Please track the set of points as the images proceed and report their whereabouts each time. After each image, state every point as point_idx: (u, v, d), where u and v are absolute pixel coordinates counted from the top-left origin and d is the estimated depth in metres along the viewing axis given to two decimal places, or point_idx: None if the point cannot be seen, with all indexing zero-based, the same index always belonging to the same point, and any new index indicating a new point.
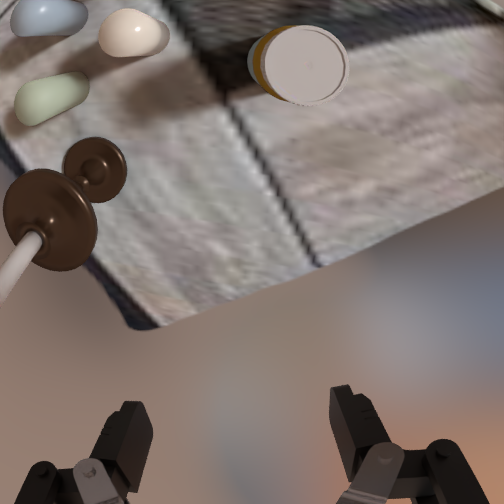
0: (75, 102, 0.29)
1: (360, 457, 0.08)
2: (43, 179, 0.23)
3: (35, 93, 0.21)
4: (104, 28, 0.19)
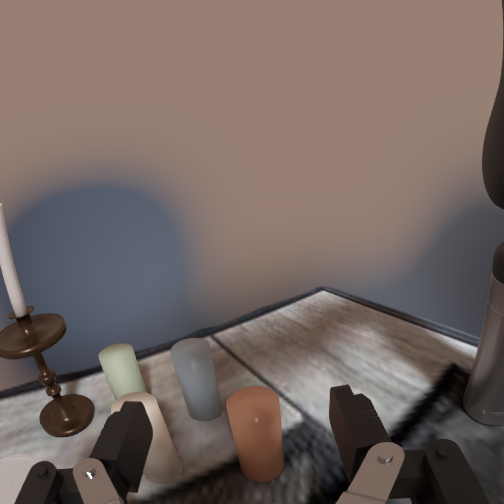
0: None
1: (360, 456, 0.08)
2: (51, 336, 0.30)
3: (120, 355, 0.34)
4: (144, 395, 0.27)
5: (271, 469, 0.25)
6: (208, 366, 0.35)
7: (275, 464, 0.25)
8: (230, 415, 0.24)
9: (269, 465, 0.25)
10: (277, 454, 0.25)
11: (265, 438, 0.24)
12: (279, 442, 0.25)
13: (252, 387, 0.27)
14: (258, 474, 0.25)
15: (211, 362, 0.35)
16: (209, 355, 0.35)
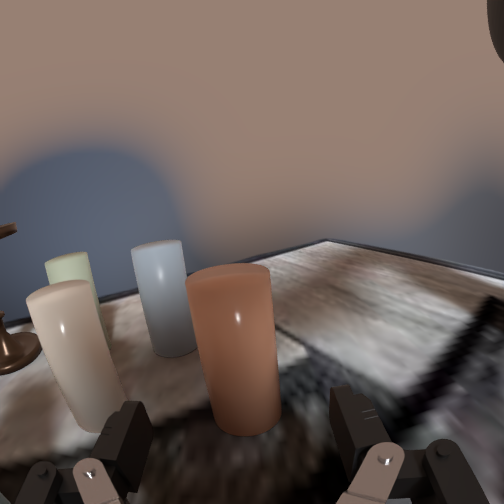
0: None
1: (360, 456, 0.08)
2: None
3: (69, 259, 0.26)
4: (77, 281, 0.19)
5: (260, 411, 0.17)
6: (178, 270, 0.27)
7: (267, 401, 0.17)
8: (189, 291, 0.16)
9: (255, 401, 0.17)
10: (269, 380, 0.17)
11: (248, 338, 0.16)
12: (272, 356, 0.17)
13: (229, 264, 0.19)
14: (239, 419, 0.17)
15: (182, 266, 0.27)
16: (179, 253, 0.27)
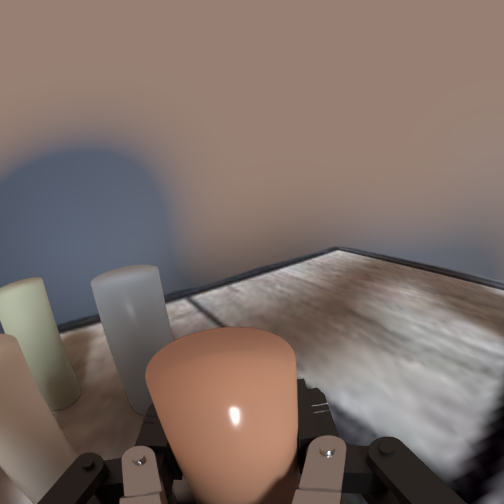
0: None
1: (306, 448, 0.09)
2: None
3: (19, 290, 0.18)
4: (6, 339, 0.11)
5: None
6: (153, 310, 0.19)
7: None
8: (151, 395, 0.08)
9: None
10: (286, 498, 0.09)
11: (257, 469, 0.08)
12: (293, 472, 0.09)
13: (224, 329, 0.11)
14: None
15: (160, 304, 0.19)
16: (154, 287, 0.19)
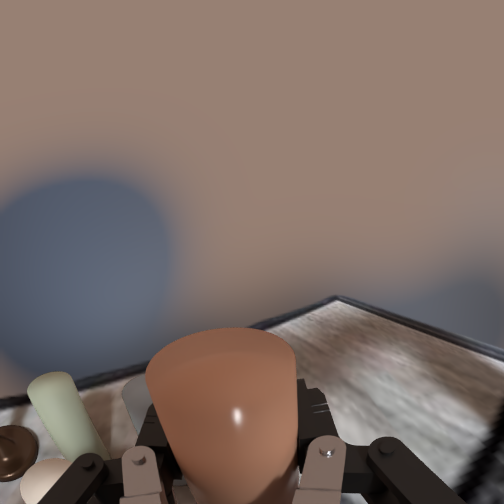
0: (60, 450, 0.21)
1: (306, 448, 0.09)
2: None
3: (53, 391, 0.20)
4: None
5: None
6: None
7: None
8: (151, 396, 0.08)
9: None
10: (287, 499, 0.09)
11: (257, 469, 0.08)
12: (292, 473, 0.09)
13: (223, 330, 0.11)
14: None
15: None
16: None
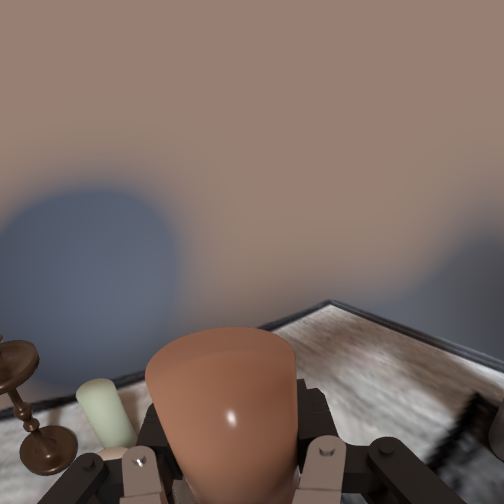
0: (101, 443, 0.28)
1: (306, 448, 0.09)
2: (21, 372, 0.23)
3: (100, 395, 0.27)
4: None
5: None
6: None
7: None
8: (151, 395, 0.08)
9: None
10: (287, 498, 0.09)
11: (257, 468, 0.08)
12: (292, 472, 0.09)
13: (223, 329, 0.11)
14: None
15: None
16: None
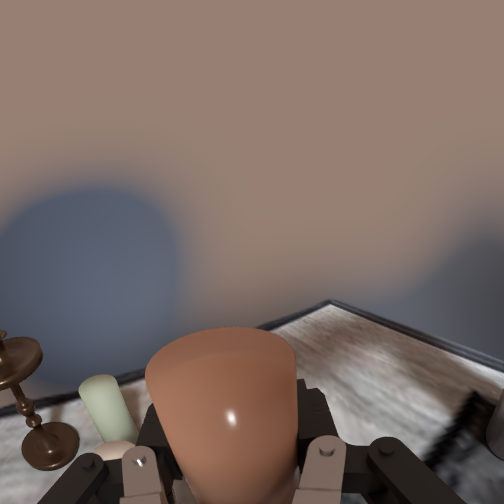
0: (103, 439, 0.29)
1: (306, 448, 0.09)
2: (24, 367, 0.24)
3: (102, 390, 0.28)
4: (127, 445, 0.21)
5: None
6: None
7: None
8: (151, 396, 0.08)
9: None
10: (286, 498, 0.09)
11: (257, 469, 0.08)
12: (293, 473, 0.09)
13: (223, 329, 0.11)
14: None
15: None
16: None
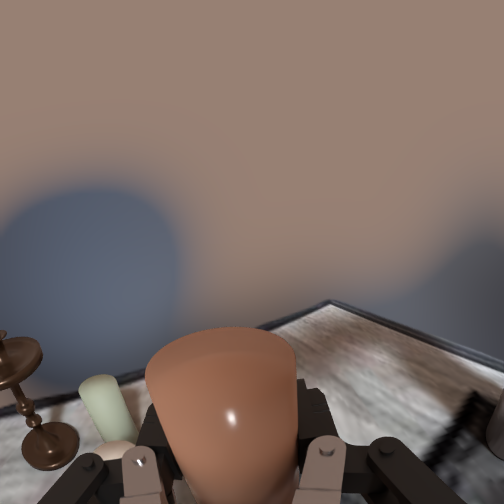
0: (103, 439, 0.29)
1: (306, 448, 0.09)
2: (24, 367, 0.24)
3: (102, 390, 0.28)
4: (127, 445, 0.21)
5: None
6: None
7: None
8: (151, 396, 0.08)
9: None
10: (286, 498, 0.09)
11: (257, 469, 0.08)
12: (293, 473, 0.09)
13: (223, 329, 0.11)
14: None
15: None
16: None
